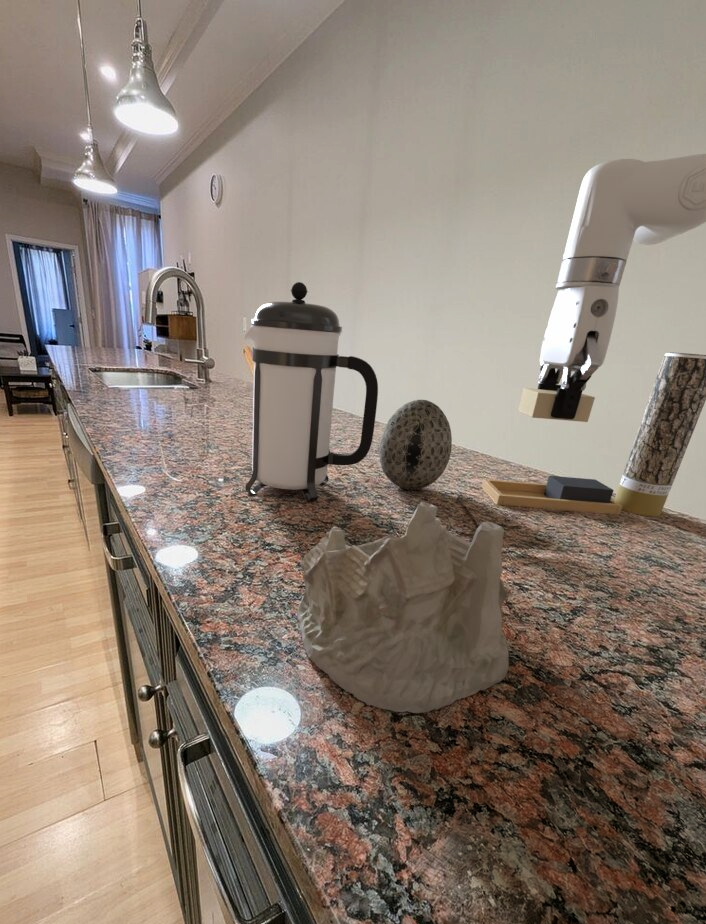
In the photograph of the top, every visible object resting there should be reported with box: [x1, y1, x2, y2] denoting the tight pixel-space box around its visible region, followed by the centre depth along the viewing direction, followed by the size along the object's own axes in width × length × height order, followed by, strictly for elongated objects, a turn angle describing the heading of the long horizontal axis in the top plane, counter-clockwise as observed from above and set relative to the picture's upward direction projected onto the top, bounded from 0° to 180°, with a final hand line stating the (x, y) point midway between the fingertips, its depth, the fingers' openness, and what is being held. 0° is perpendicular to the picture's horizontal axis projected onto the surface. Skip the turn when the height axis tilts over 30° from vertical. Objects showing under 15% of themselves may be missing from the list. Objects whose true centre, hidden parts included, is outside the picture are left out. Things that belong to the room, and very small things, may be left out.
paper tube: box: [613, 351, 706, 517], centre depth 70 cm, size 7×7×25 cm
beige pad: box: [517, 387, 596, 423], centre depth 66 cm, size 8×6×4 cm
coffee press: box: [243, 281, 379, 503], centre depth 67 cm, size 17×16×30 cm
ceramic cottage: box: [296, 501, 512, 714], centre depth 36 cm, size 16×16×15 cm
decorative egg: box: [378, 399, 453, 491], centre depth 75 cm, size 12×12×15 cm
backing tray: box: [481, 478, 623, 516], centre depth 75 cm, size 20×9×2 cm, turn 88°
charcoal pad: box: [544, 475, 615, 503], centre depth 74 cm, size 8×6×4 cm
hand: (552, 413), depth 66 cm, fingers closed on beige pad, 5 cm apart
